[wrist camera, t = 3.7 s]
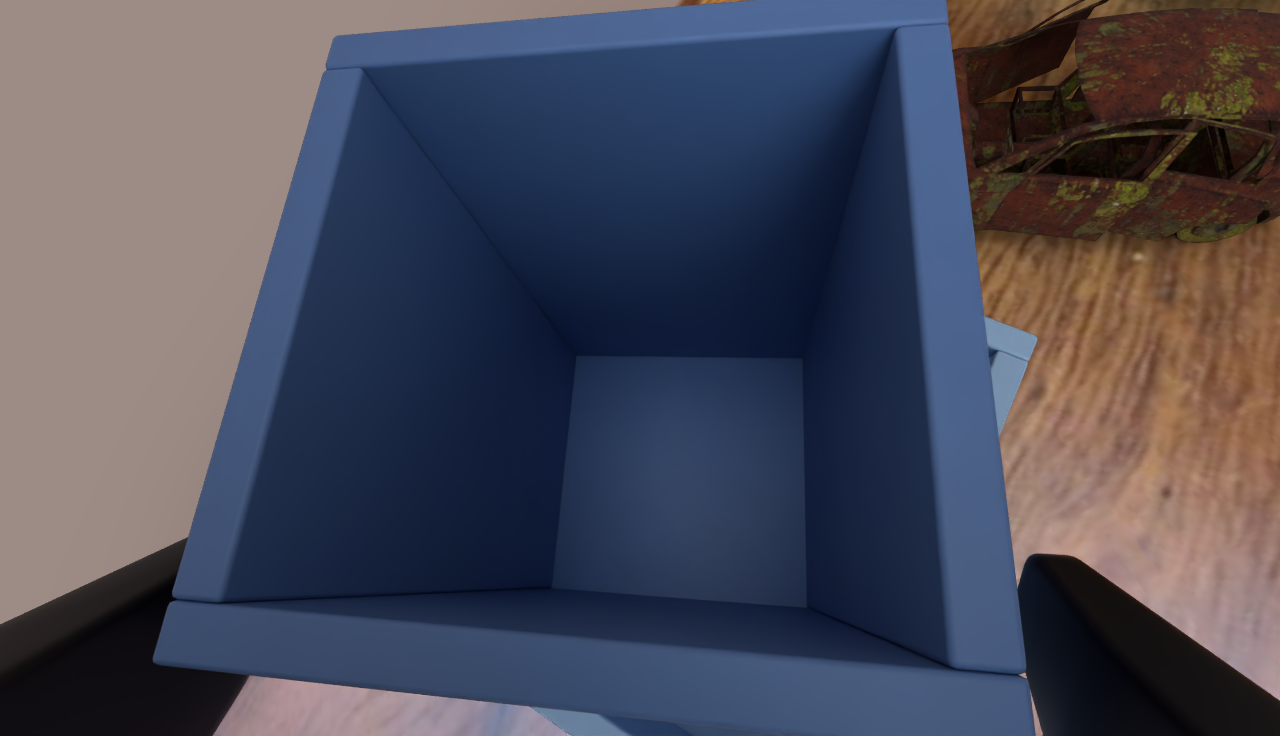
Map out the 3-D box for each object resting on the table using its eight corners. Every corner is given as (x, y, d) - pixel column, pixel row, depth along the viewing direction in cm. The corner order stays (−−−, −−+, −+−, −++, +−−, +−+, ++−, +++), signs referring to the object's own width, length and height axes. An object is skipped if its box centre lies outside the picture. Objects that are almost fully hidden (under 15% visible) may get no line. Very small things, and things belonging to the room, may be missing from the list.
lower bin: (787, 787, 15) (813, 906, 10) (451, 569, 18) (325, 565, 13) (945, 413, 18) (1040, 335, 12) (624, 275, 21) (581, 162, 15)
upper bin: (828, 633, 13) (1042, 765, 4) (535, 609, 14) (147, 665, 5) (820, 347, 15) (945, -20, 6) (565, 345, 16) (331, 33, 7)
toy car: (1233, 74, 20) (1383, -78, 15) (1283, 269, 17) (1473, 159, 13) (845, 87, 22) (872, -43, 17) (845, 261, 20) (877, 165, 15)
